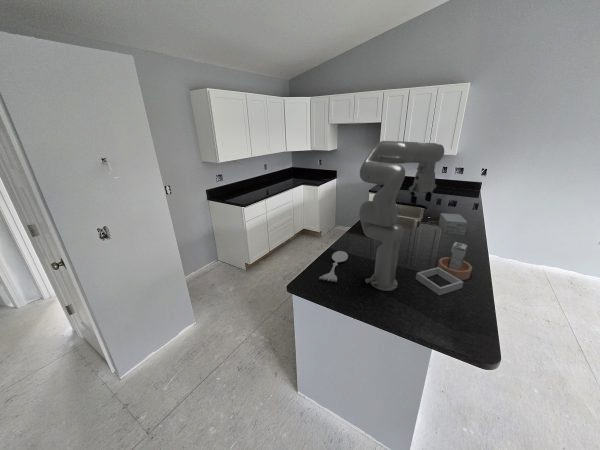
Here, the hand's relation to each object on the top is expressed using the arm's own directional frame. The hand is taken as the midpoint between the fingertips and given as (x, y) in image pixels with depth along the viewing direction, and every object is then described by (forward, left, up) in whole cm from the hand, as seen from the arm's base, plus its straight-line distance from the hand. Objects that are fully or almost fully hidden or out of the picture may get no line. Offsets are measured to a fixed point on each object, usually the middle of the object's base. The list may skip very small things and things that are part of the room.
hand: (420, 202), depth 132 cm
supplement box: (+56, +21, -34) cm, 69 cm away
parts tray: (-6, -24, -33) cm, 41 cm away
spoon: (-45, +7, -34) cm, 57 cm away
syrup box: (+9, -20, -32) cm, 39 cm away
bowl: (+9, -20, -33) cm, 40 cm away
